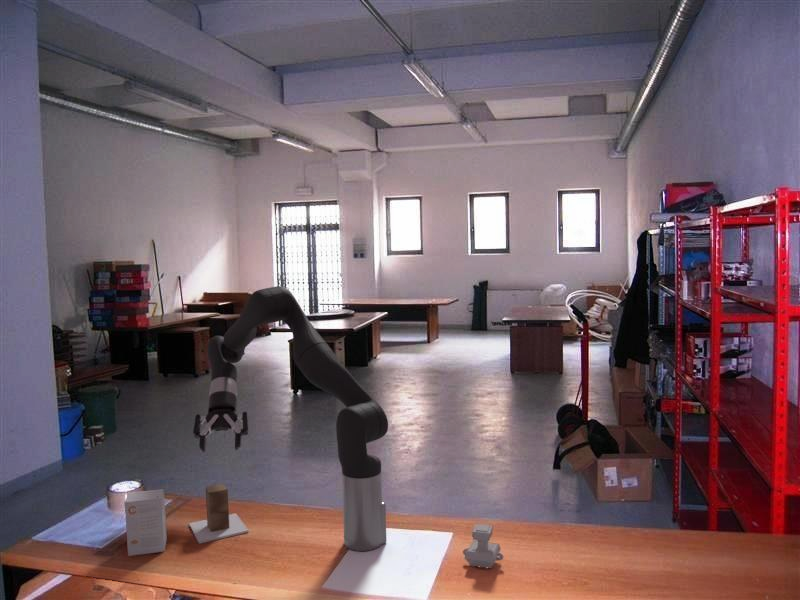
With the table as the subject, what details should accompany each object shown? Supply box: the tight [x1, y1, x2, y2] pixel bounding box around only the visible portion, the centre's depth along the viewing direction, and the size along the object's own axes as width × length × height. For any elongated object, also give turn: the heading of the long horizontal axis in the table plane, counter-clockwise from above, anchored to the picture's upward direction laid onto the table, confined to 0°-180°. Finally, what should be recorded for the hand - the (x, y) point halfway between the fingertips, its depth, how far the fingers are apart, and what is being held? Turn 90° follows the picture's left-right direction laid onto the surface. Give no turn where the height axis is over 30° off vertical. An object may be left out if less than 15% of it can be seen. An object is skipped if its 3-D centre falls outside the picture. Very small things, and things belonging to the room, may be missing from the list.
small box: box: [124, 488, 168, 557], centre depth 155 cm, size 8×6×13 cm
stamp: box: [462, 523, 504, 569], centre depth 144 cm, size 9×7×8 cm
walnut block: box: [205, 483, 230, 532], centre depth 165 cm, size 4×4×10 cm
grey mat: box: [188, 512, 249, 545], centre depth 165 cm, size 12×12×1 cm
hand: (220, 449), depth 175 cm, fingers open, 8 cm apart
